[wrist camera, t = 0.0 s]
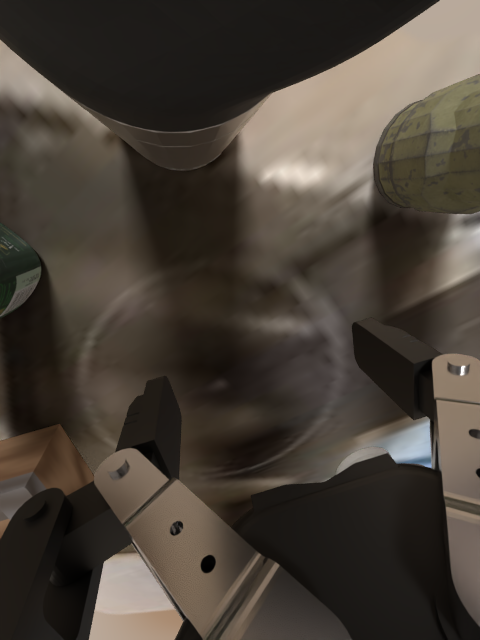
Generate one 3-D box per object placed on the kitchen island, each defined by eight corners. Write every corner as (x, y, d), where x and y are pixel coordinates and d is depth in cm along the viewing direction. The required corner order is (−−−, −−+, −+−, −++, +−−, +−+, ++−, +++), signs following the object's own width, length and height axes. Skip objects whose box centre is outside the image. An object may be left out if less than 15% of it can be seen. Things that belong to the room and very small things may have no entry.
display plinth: (-73, 461, 31) (-146, 537, 24) (59, 423, 32) (24, 486, 25) (2, 537, 37) (-40, 615, 30) (112, 503, 38) (95, 572, 31)
